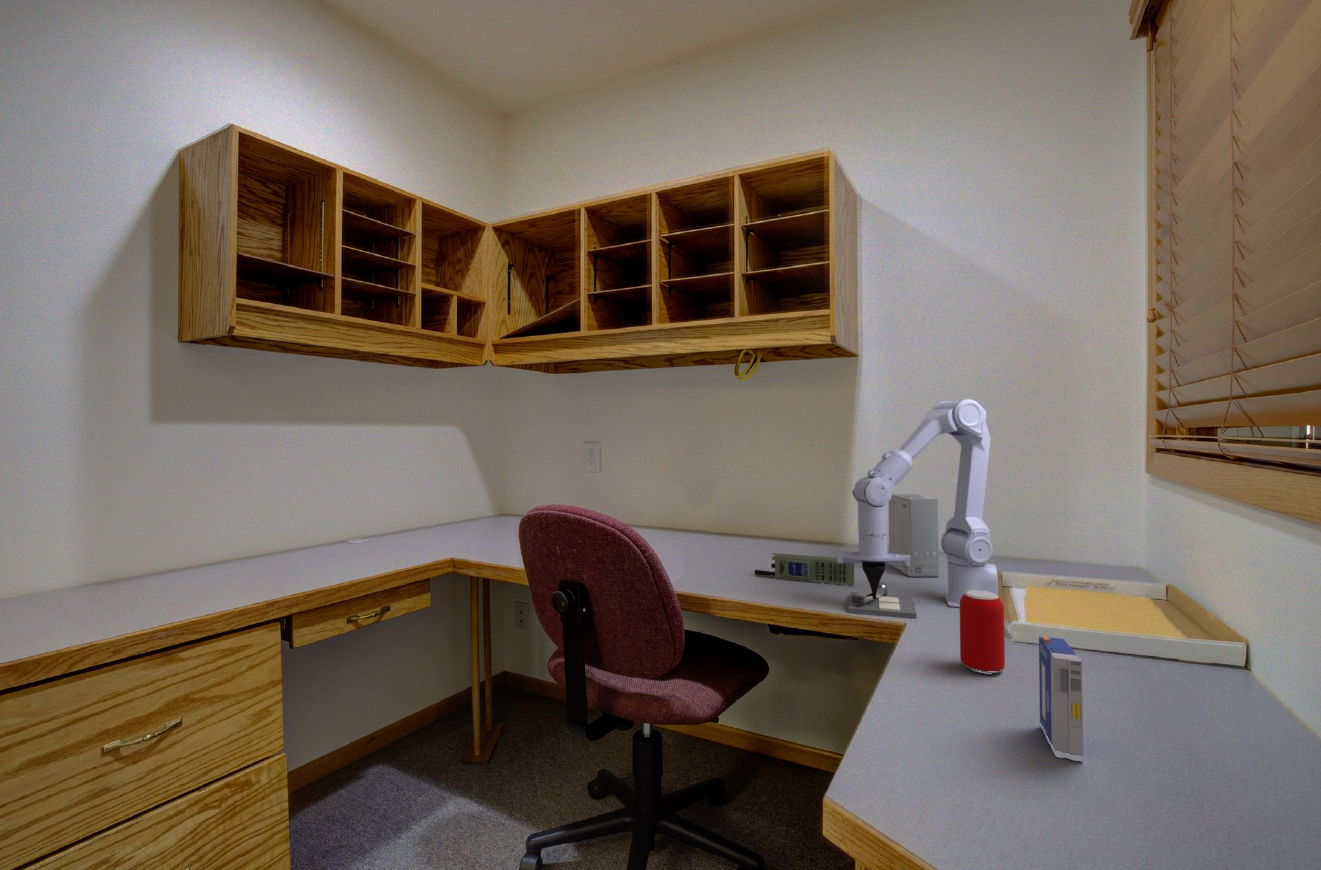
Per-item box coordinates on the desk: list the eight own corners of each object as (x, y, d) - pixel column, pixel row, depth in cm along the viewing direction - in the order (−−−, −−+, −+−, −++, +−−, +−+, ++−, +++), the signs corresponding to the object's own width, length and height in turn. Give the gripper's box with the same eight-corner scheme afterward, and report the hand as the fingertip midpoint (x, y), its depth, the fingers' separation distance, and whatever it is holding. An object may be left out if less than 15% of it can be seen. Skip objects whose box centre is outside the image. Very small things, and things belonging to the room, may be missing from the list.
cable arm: (889, 593, 133) (889, 583, 133) (862, 606, 124) (862, 595, 124) (878, 591, 135) (877, 581, 135) (851, 603, 126) (851, 592, 126)
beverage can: (1004, 680, 91) (1003, 601, 90) (958, 672, 94) (957, 596, 94) (1005, 666, 96) (1004, 591, 96) (962, 659, 99) (961, 586, 99)
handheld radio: (852, 588, 145) (752, 578, 155) (854, 585, 148) (756, 576, 158) (852, 560, 145) (752, 552, 156) (854, 558, 148) (756, 550, 159)
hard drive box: (940, 577, 152) (939, 499, 152) (909, 578, 152) (908, 499, 152) (915, 563, 168) (914, 492, 167) (887, 564, 168) (886, 493, 168)
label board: (912, 600, 132) (912, 594, 132) (916, 618, 120) (916, 612, 120) (850, 596, 137) (850, 590, 137) (848, 613, 124) (848, 606, 124)
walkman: (1039, 727, 76) (1038, 633, 76) (1065, 730, 75) (1064, 636, 75) (1055, 759, 69) (1054, 655, 69) (1083, 763, 68) (1082, 658, 68)
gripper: (908, 531, 128) (909, 594, 128) (837, 529, 133) (839, 590, 133) (910, 537, 122) (912, 604, 122) (836, 535, 126) (837, 599, 127)
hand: (874, 597), depth 127 cm, fingers closed, pressing on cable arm
